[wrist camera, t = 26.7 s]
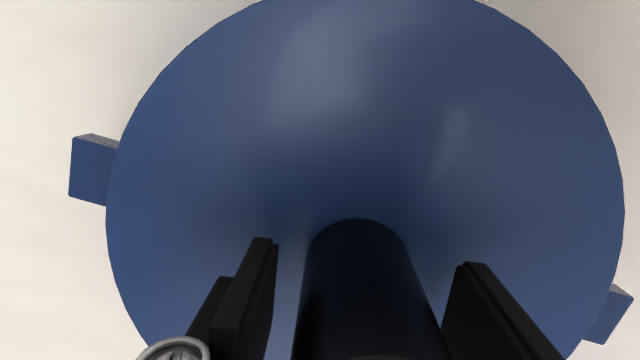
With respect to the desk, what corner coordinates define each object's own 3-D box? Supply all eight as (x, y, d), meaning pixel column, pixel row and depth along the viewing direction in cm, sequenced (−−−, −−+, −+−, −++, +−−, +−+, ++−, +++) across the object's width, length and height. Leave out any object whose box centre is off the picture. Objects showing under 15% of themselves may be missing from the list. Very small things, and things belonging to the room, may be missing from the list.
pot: (163, -41, 15) (71, -106, 9) (634, 108, 16) (782, 123, 10) (120, 282, 19) (42, 356, 14) (482, 379, 20) (533, 481, 15)
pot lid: (160, -91, 10) (-210, -453, 3) (706, 85, 11) (1338, 98, 4) (101, 367, 15) (-89, 604, 8) (476, 463, 16) (583, 750, 9)
